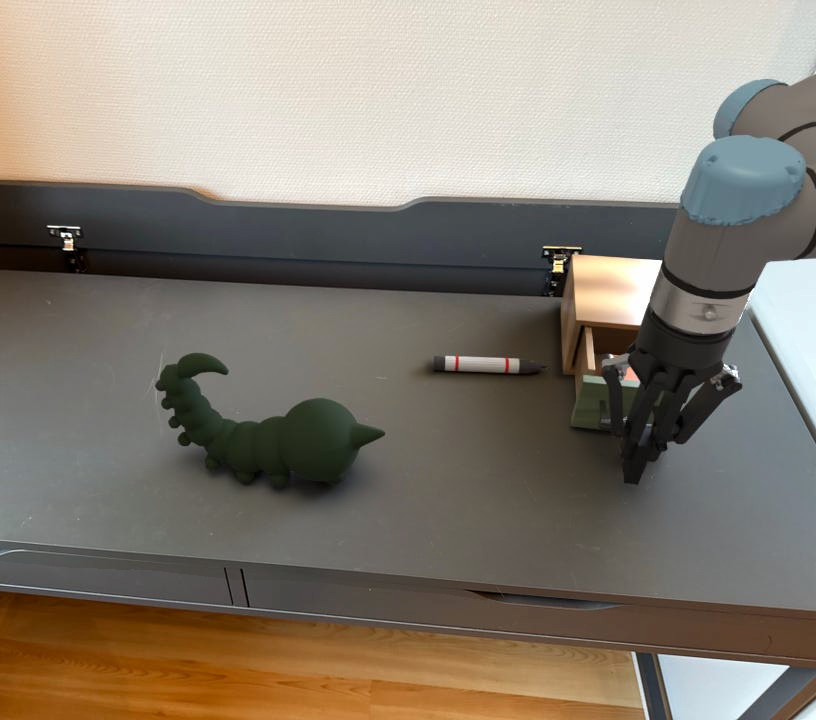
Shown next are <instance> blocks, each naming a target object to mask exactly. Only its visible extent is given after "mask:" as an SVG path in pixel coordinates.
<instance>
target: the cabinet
mask: <svg viewBox="0 0 816 720" xmlns="http://www.w3.org/2000/svg"><path fill="white" fill-rule="evenodd" d="M661 263H662V260H658V259H657V260H656V259H642V258H631V257H630V258H629V257H616V256H602V255H589V254H576V253H572V254H571V257H570V261H569V266H568V270H567V276H566V279H565V284H564V289H563V293H562V299H561V304H560V326H561V328H560V329H561V331H560V332H561V353H562V357H561V358H562V374H563V375H568V376H575V366H574V353H575V349H576V345H577V341H578V337H579V333H580V328H581V325H586V326H597V327H609V328H620V329H631V330H639V329H640V326H641V323H642V320H643V317H644V313H645V310H646V307H647V305H648V303H649V301H650V300H649V299H650V294H651V291H652V288H653V286H654V283H655V280H656V277H657V274H658V271H659V268H660V265H661Z"/></svg>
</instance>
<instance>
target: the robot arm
mask: <svg viewBox="0 0 816 720" xmlns="http://www.w3.org/2000/svg"><path fill="white" fill-rule="evenodd" d="M712 133H713V134H712V136H713V139H714V141H712V142H710V143H708V144H707V145H706V146H704V147H703V149H702V150H701V151H700V152H699V154H698V156H697V158H696V160H695V162H694V164H693V166H692V168H691V170H690V173H689V176H688V178H687V181H686V184H685V186H684V188H683V189H682V191H681V193H680V197H679V205H678V209H677V212H676V215H675V219H674V221H673V224H672V227H671V231H670V234H669V238H668V240H667V244H666V246H665V251H664V253H663V254H664V255H663V257H662V259H661V261H662V263H661V265H660V268H659V271H658V274H657V277H656V280H655V283H654V286H653V288H652V291H651V294H650V299H649V300H650V301H649V303H648V305H647V307H646V310H645V313H644V317H643V320H642V323H641V326H640V329H639V332H638V335H637V339H636V340H635V342H634V343H633V344H631V345H630V346H629V347H628V349H627V353H626V354H623V355H620V356H617V357H614V358H613V356H612V355H611V354H603V355H602V356H601V357H600V361H601V371H602V377H603V378H604V380H605V382H606V383H607V385H608V393H609V413H610V424H611V431H610V432H611V436H612V437H614V438H621V440H620V443H619V453H620V458H621V460H622V463H621V469H622V479H623V484H626V485H634V486H639V484H640V481H641V480H642V477H643V474H644V472H645V469H646V467H647V464H648V463H655V462H657V461H658V460H659V457H660V455H661V453H664V452H666V451H668V449H669V448H668V443H672V442H674V443H675V444H676V445H684V444H686V443H687V442H688V441H689V440H690V439H691V438H692V436H693V435H695V433H696V432H697V431H698V430H699V429H700V427H701V426H702V425H703V424H704V423H705V422H706V421H707V420H708V419H709V417H711V415H712V414H713V413H714V412H715V411H716V409H717V408H718V407H719V406H720V405H721V404H722V403H723V402H724V400H726V399H727V398H729V397H731V396H733V395H735V394H736V393H737V392H739V391H741V390H742V389H743V383H742V380H741V379H742V378H741V376H740V373H739V369H738V367H737V366H736V365H734V364H728V365H726V364H725V362H724V360H723V358H724V356H725V355H726V352H727V350H728V348H729V346H730V344H731V341H732V339H733V337H734V335H735V333H736V329H737V325H738V324H739V322H740V321H741V318H742V317H743V314H744V312H745V309H746V308H747V305H748V303H749V300H750V298H751V296H752V294H753V292H754V289H755V288H756V286H757V284H758V281H759V279H760V278H761V276H762V273H763V272H764V269H765V268H766V266H767V264H768V263H773V262H788V261H790V262H791V261H799V260H815V259H816V73H815V74H813V75H810V76H808V77H805V78H804V79H801V80H799V81H797V82H795V83H793V84H791V85H789V84H788V83H786V82H784V81H783V82H782V81H779V80H778V79H773V78H762V79H761V78H760V79H754V80H751V81H749V82H746V83H744V84H742V85H740V86H739V87H737V88H736V89H734V90H733V91H732V92H731V93H730V94H728V95H727V96H726V97H725V99H724V100H723V101H722V103H721V104H720V106H719V107H718V108H717V111H716V112H715V116H714V119H713V123H712ZM629 367H631V368H632V370H633V372H634V373H635V375H636V376H637V378H638V379H639V381H640V384H639V387H638V390H637V392H636V395H635V398H634V401H633V404H632V407H631V409H630V412H629V415H628V418H627V417H625V419H623V394H622V383H621V381H622V380H624V377H625V376H626V374H627V372H626V370H627V368H629ZM699 386H700V388H698V390H697V391H696V392H695V393H694V394H693V396H692V397H691V398H690V399H689V396H690V395H691V392H692V390H693V389H695V388H697V387H699ZM661 391H664V394H663V397H662V399H661V402H660V404H659V407H658V410H657V412H656V415H655V417H654V420H653V423H652V430H651V429H650V428H645V427H646V424H647V422H648V419H649V416H650V414H651V411H652V409H653V406H654V403H655V401H658V398H659V396H660V393H661ZM688 400H689V401H688Z"/></svg>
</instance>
